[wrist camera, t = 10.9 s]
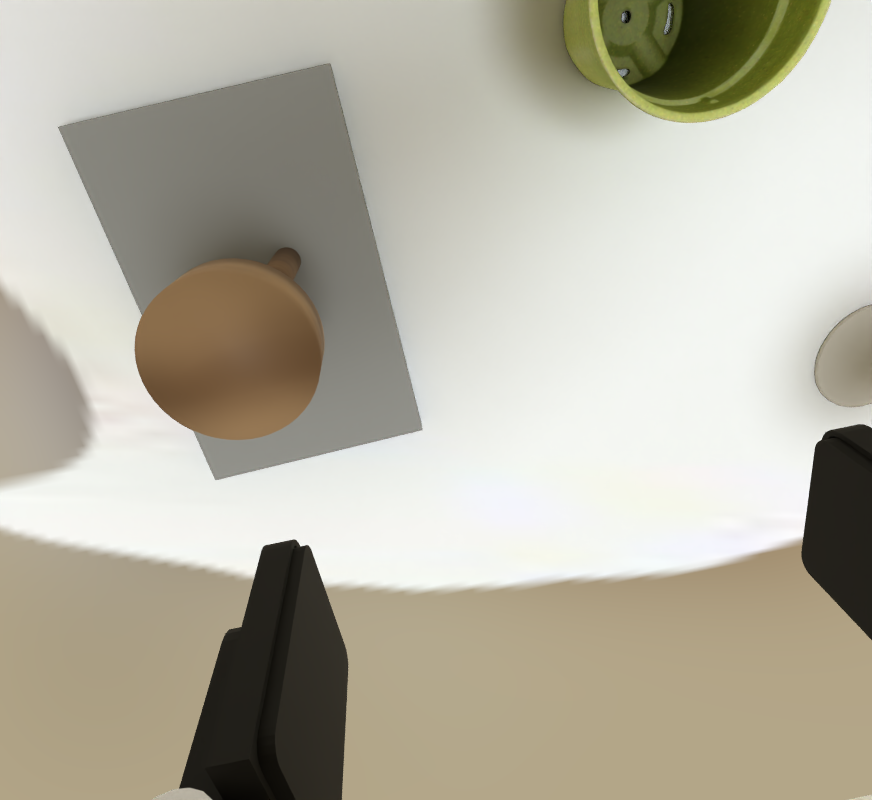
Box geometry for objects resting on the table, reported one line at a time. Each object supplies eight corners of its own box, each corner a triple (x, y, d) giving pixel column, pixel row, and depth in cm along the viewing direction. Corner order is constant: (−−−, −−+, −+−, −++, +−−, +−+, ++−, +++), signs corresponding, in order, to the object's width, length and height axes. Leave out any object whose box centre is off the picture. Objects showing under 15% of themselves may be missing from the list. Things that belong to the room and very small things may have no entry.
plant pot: (696, 124, 31) (807, 120, 24) (524, 127, 31) (579, 124, 23) (729, -96, 28) (874, -188, 20) (533, -100, 27) (603, -197, 19)
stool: (177, 249, 30) (102, 296, 21) (310, 218, 30) (289, 251, 22) (226, 372, 33) (177, 457, 24) (347, 343, 33) (341, 417, 25)
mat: (67, 127, 28) (57, 127, 27) (330, 65, 28) (329, 63, 28) (219, 471, 37) (215, 480, 36) (420, 422, 37) (422, 429, 36)
